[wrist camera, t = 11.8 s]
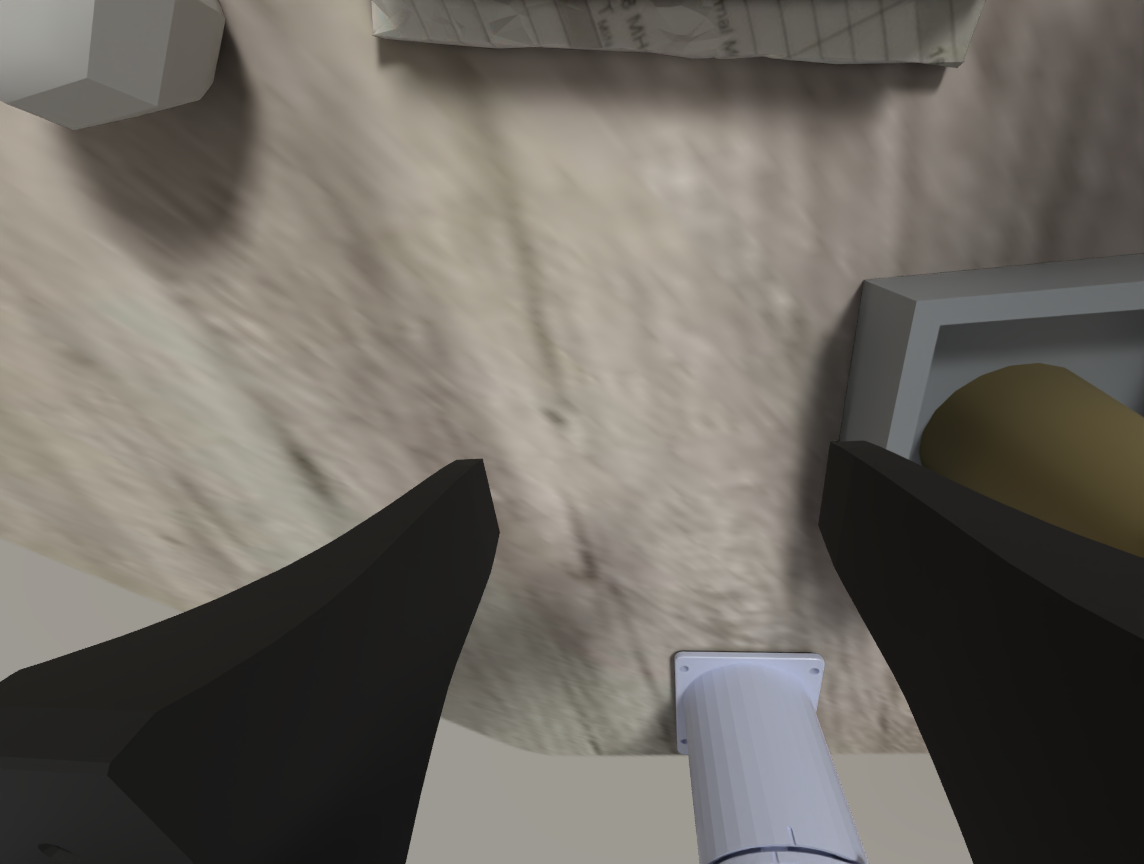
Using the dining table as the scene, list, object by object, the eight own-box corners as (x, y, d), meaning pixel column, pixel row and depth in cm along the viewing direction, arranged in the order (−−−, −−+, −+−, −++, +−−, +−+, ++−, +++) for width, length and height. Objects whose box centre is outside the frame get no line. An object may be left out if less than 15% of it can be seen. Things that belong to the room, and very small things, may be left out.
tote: (1107, 525, 21) (1193, 587, 18) (824, 531, 22) (857, 588, 19) (1245, 243, 16) (1403, 258, 12) (863, 280, 17) (916, 301, 14)
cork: (887, 471, 20) (1131, 739, 10) (991, 340, 17) (1463, 539, 7) (1015, 516, 20) (1369, 818, 11) (1137, 394, 17) (1773, 655, 8)
